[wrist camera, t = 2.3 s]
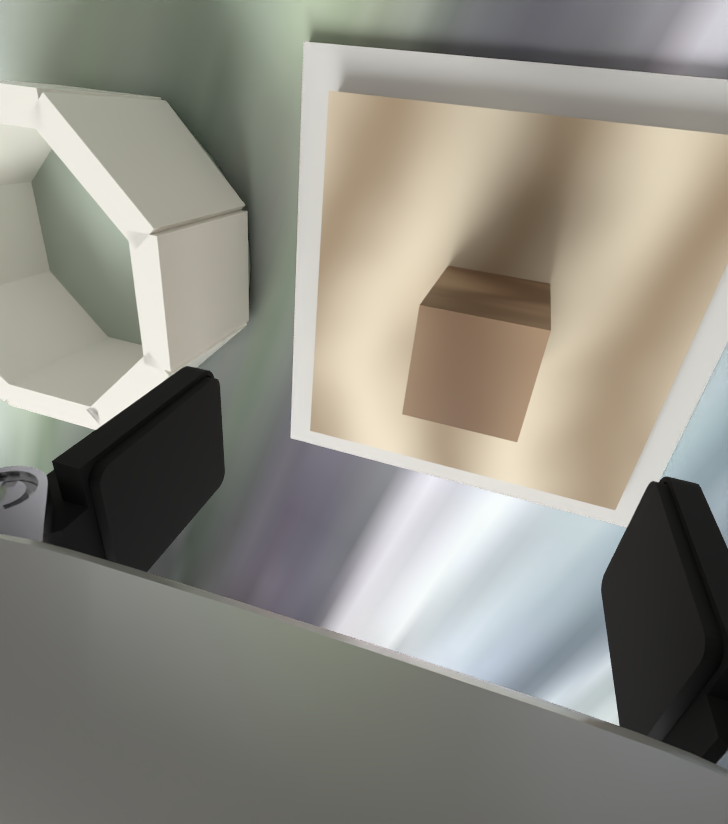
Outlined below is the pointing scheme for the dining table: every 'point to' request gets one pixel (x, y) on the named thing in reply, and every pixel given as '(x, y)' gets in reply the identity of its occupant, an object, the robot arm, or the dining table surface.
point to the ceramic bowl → (109, 250)
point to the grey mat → (514, 91)
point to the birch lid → (510, 286)
